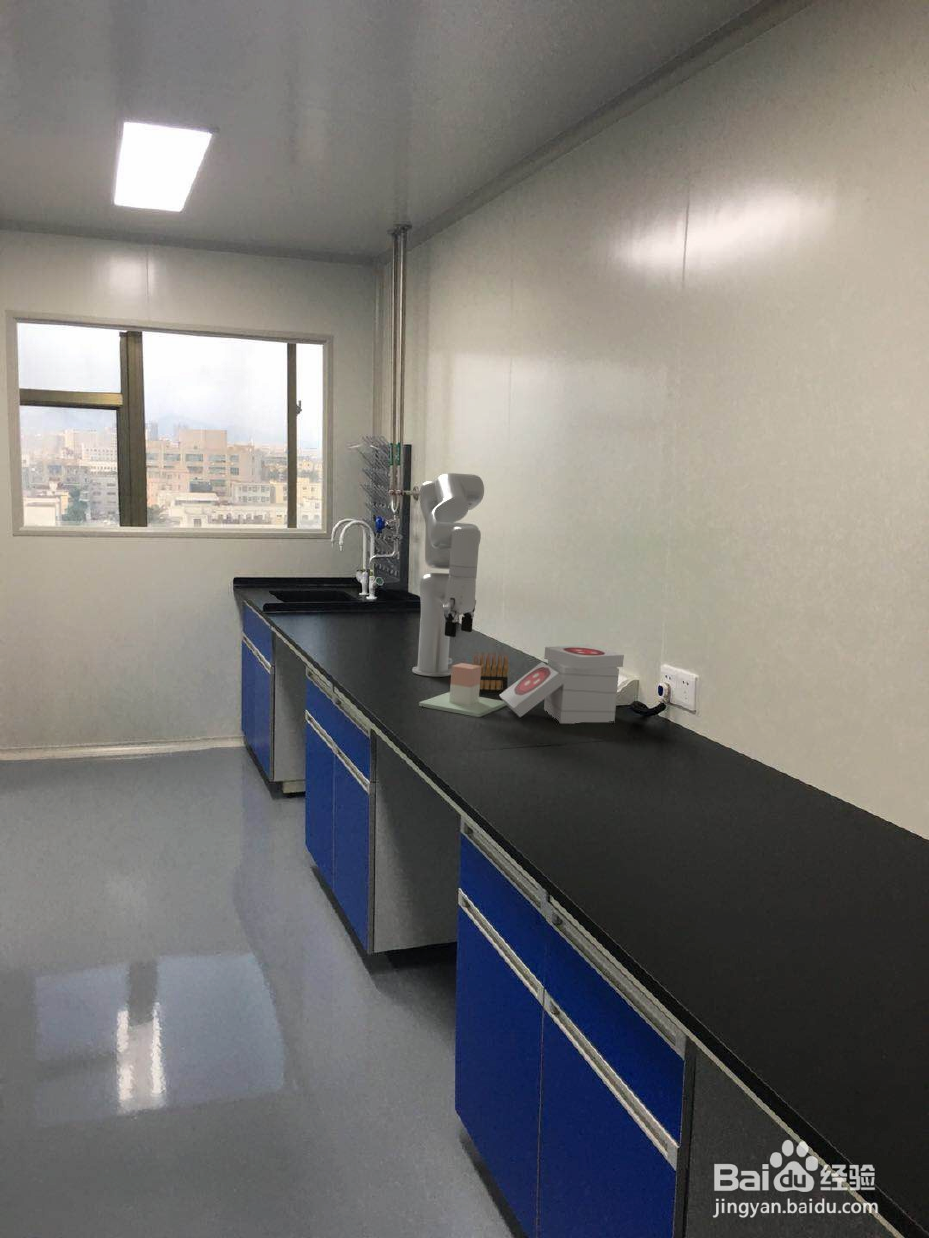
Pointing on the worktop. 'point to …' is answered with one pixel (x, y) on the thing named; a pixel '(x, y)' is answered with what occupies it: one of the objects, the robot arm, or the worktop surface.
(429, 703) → the base plate
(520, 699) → the pizza boxes
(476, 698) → the cream brick
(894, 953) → the worktop surface
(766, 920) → the worktop surface
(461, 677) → the coral brick
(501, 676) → the ammunition clip
